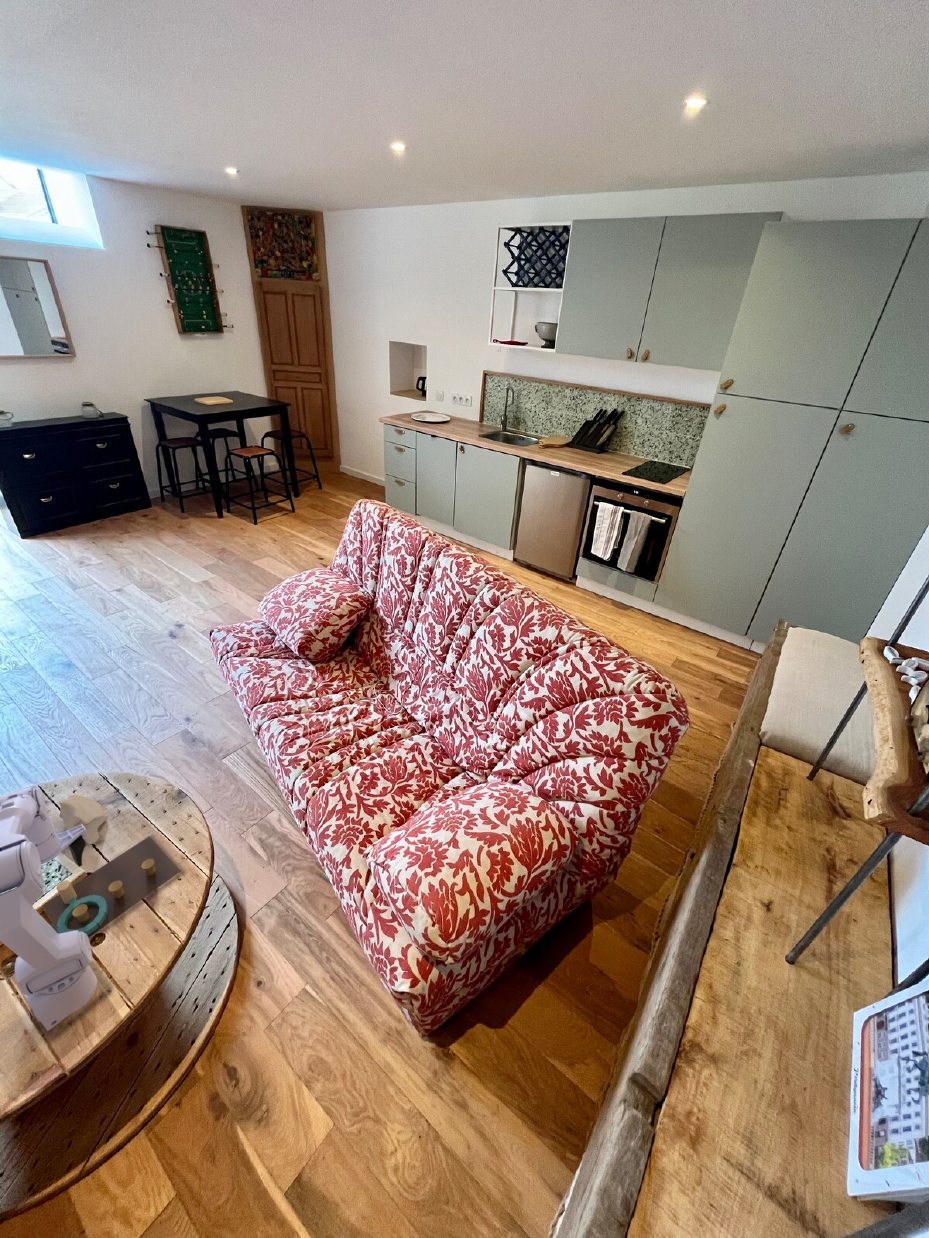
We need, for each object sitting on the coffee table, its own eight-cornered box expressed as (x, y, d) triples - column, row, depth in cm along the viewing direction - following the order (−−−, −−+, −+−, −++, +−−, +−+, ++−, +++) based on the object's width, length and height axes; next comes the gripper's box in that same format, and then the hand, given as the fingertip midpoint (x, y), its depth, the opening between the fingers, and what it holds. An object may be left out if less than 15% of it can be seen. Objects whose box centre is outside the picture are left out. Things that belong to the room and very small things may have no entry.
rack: (71, 953, 104) (65, 942, 102) (42, 908, 111) (36, 897, 109) (181, 873, 121) (178, 862, 119) (150, 838, 128) (146, 827, 126)
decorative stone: (81, 852, 123) (71, 831, 119) (60, 819, 131) (49, 797, 126) (118, 831, 129) (110, 809, 125) (96, 800, 136) (87, 779, 132)
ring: (69, 948, 104) (61, 935, 102) (45, 910, 110) (37, 897, 108) (115, 915, 110) (109, 902, 108) (90, 880, 117) (83, 867, 114)
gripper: (69, 802, 109) (88, 842, 116) (-16, 848, 98) (10, 889, 105) (84, 820, 106) (102, 860, 112) (-3, 870, 95) (22, 910, 102)
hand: (58, 875), depth 109 cm, fingers open, 7 cm apart
